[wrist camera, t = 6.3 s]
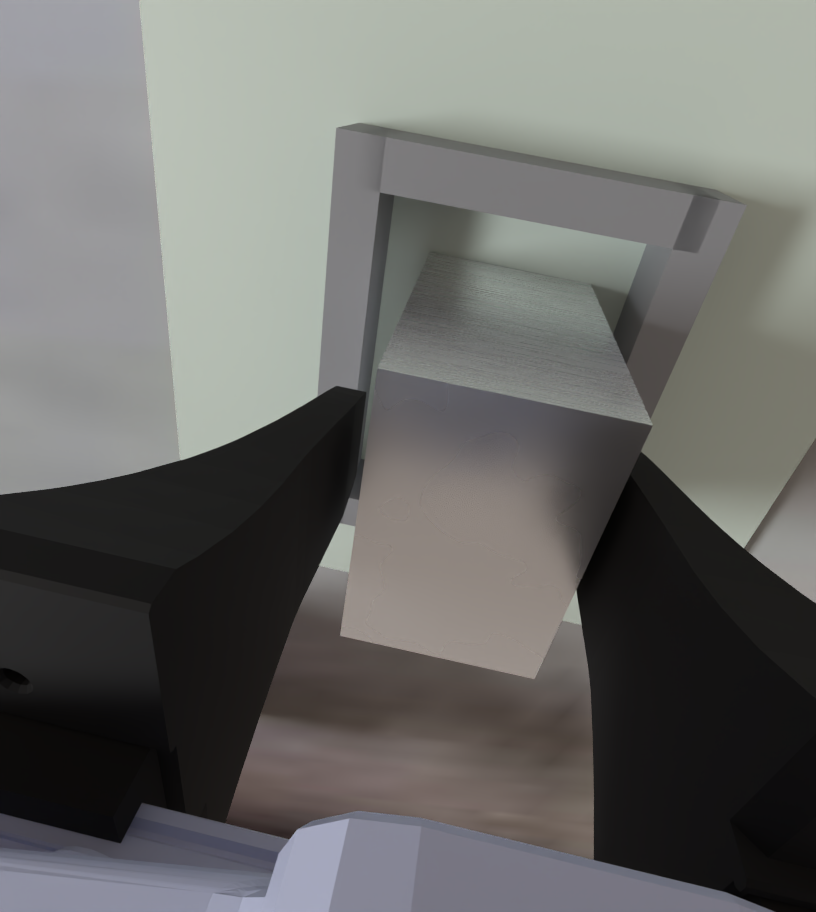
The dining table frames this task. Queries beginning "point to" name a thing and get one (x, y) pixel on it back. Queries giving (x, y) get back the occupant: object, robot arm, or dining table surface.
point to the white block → (489, 465)
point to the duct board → (495, 205)
